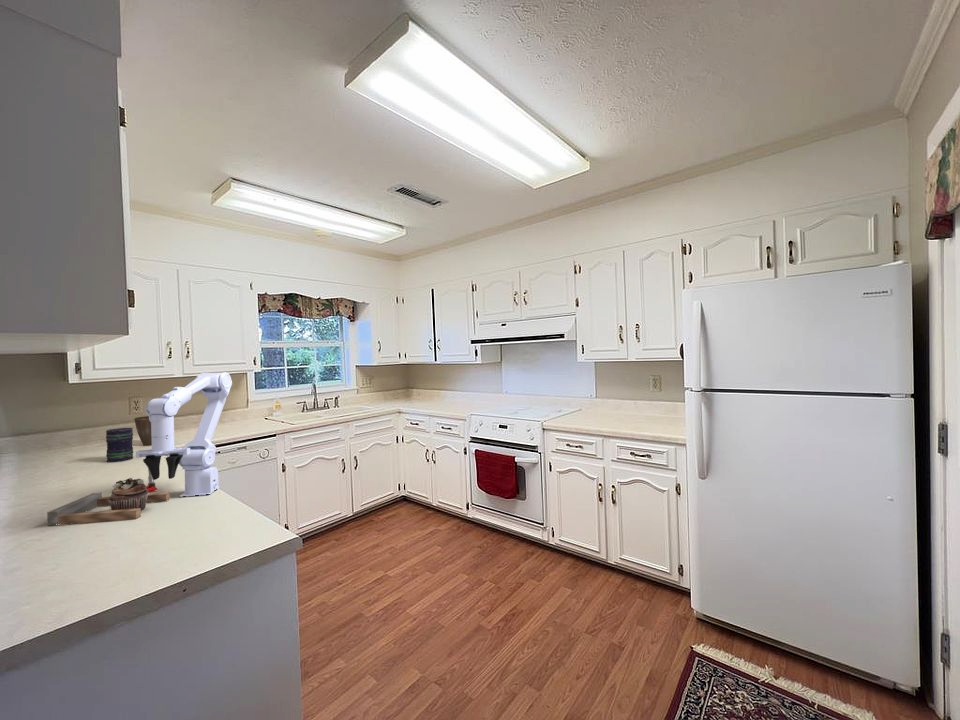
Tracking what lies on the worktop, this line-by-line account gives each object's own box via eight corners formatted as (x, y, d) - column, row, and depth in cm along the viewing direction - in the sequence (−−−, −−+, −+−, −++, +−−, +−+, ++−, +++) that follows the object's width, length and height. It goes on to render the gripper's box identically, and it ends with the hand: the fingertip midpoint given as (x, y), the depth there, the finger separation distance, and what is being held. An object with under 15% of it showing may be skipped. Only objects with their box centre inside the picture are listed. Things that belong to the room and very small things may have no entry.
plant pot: (174, 441, 240) (174, 415, 240) (150, 447, 225) (150, 418, 225) (152, 441, 242) (152, 415, 242) (127, 447, 228) (127, 418, 228)
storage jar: (111, 458, 199) (111, 428, 199) (136, 456, 203) (136, 427, 203) (102, 463, 190) (101, 431, 190) (128, 461, 194) (128, 430, 194)
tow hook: (125, 499, 139) (158, 491, 146) (121, 462, 138) (155, 455, 146) (118, 495, 144) (151, 487, 151) (115, 459, 143) (148, 453, 151)
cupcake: (156, 504, 132) (156, 474, 132) (131, 516, 122) (130, 483, 122) (127, 505, 132) (126, 474, 132) (99, 517, 122) (98, 484, 122)
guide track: (169, 499, 136) (169, 487, 136) (136, 518, 120) (136, 505, 120) (93, 505, 132) (93, 493, 132) (47, 526, 116) (47, 512, 116)
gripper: (128, 439, 123) (129, 483, 123) (181, 436, 126) (182, 480, 126) (143, 435, 130) (144, 477, 130) (193, 432, 133) (194, 474, 133)
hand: (164, 478), depth 128 cm, fingers open, 4 cm apart
